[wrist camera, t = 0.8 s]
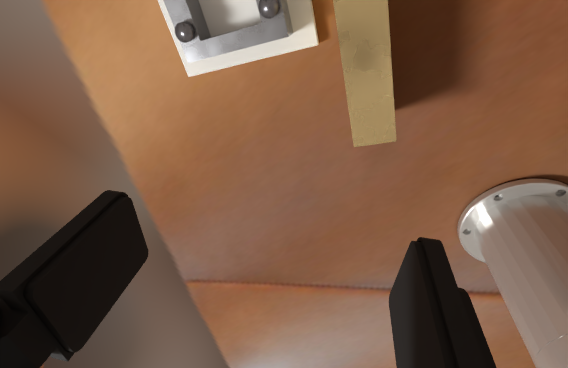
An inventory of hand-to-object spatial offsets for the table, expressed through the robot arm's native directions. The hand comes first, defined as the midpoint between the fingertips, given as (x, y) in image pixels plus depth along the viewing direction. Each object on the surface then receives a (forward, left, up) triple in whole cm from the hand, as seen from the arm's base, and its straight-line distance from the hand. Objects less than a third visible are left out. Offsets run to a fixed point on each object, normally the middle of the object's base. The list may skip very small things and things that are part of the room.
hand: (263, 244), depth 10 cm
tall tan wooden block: (-4, -1, -24) cm, 24 cm away
